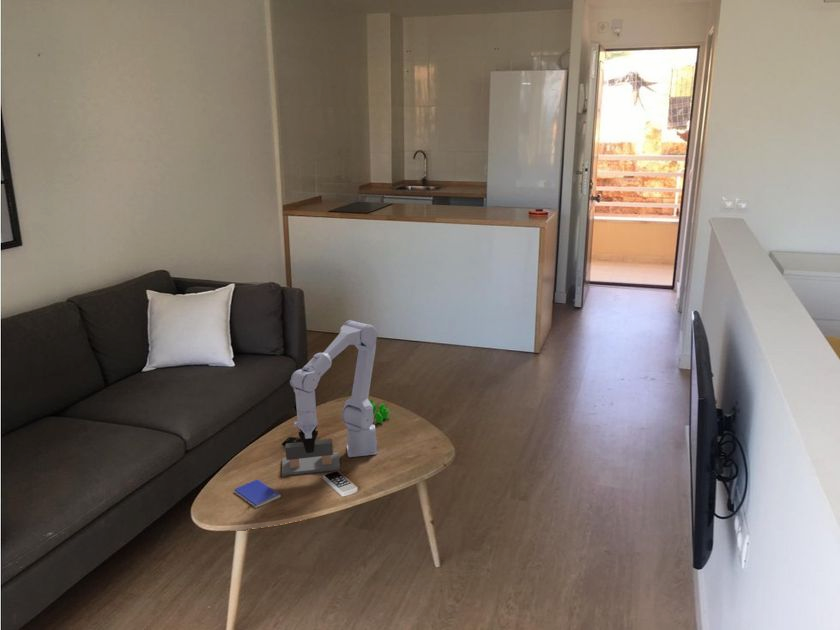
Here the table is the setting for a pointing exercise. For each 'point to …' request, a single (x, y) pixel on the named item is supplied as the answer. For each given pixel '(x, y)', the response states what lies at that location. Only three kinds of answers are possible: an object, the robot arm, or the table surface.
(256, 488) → the hard drive
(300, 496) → the table surface
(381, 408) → the green bumpy cluster
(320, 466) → the display stand
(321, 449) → the dark gray bar
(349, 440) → the robot arm
